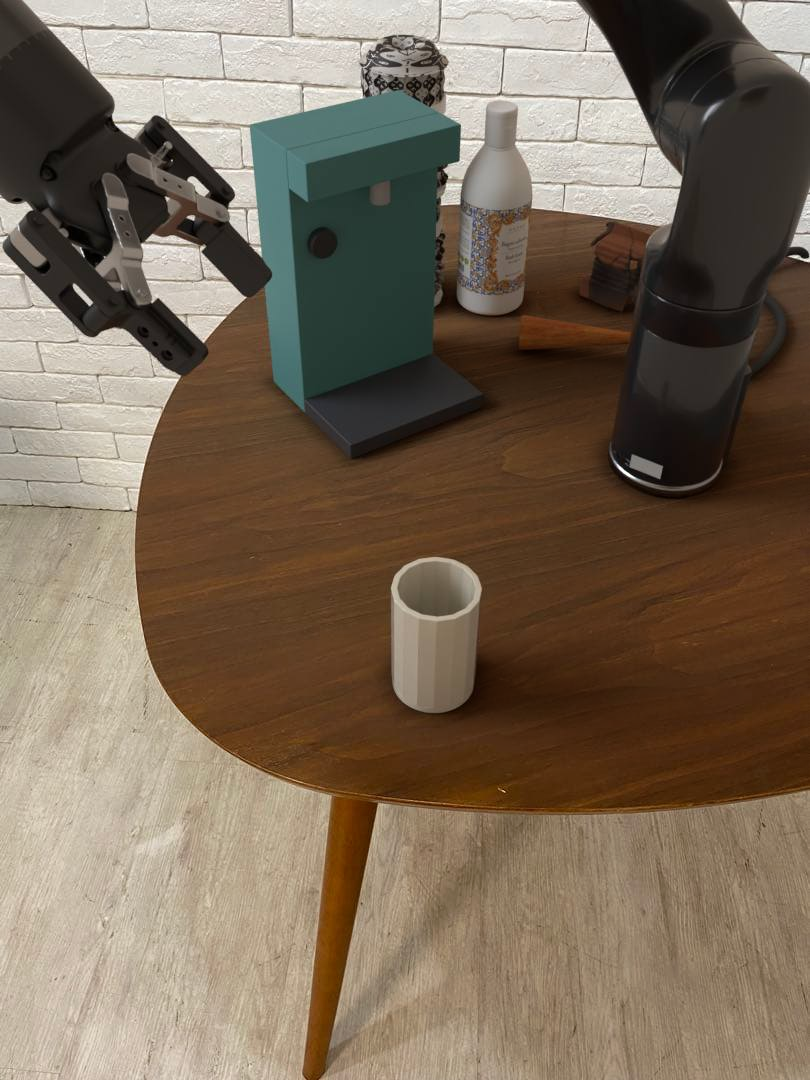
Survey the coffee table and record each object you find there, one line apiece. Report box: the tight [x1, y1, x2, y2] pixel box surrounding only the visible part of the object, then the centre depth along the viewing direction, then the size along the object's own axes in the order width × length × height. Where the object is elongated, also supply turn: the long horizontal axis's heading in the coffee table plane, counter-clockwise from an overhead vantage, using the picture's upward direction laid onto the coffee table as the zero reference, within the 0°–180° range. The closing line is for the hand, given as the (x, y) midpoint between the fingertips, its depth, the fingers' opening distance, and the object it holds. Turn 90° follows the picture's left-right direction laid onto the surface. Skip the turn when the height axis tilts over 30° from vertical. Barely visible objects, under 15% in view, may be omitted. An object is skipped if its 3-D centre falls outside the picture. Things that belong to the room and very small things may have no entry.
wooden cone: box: [518, 314, 631, 351], centre depth 100 cm, size 6×6×20 cm
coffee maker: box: [249, 90, 484, 459], centre depth 89 cm, size 14×14×24 cm
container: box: [390, 556, 483, 714], centre depth 69 cm, size 6×6×9 cm
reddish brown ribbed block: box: [578, 221, 654, 313], centre depth 109 cm, size 12×9×8 cm
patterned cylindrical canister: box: [358, 34, 450, 308], centre depth 102 cm, size 9×9×25 cm
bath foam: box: [456, 100, 533, 316], centre depth 103 cm, size 7×7×20 cm
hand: (231, 324), depth 57 cm, fingers open, 8 cm apart
